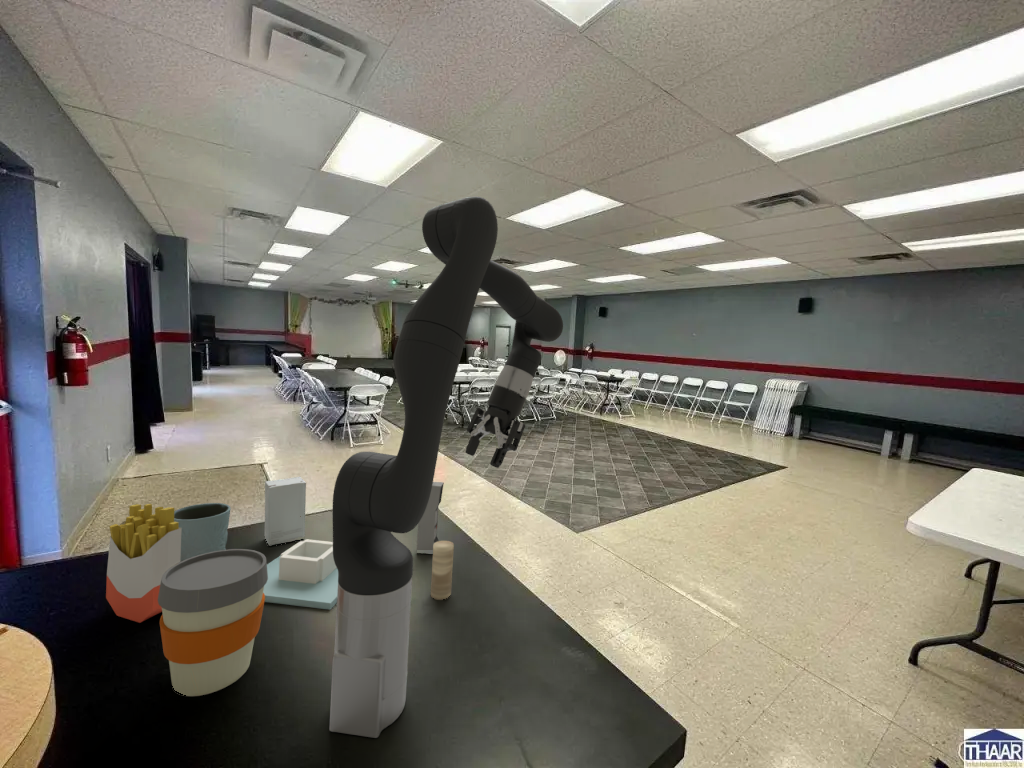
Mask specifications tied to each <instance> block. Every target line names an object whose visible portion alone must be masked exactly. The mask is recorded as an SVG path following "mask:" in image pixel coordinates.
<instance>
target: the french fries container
mask: <svg viewBox="0 0 1024 768" xmlns="http://www.w3.org/2000/svg"><path fill="white" fill-rule="evenodd" d="M128 509H129V510H128V513H129V514H128V515H129V516H126V517H125V521H122V522H121V523H120V524H118V523H115V524H111V525H110V526H109V532H110V536H109V544H108V545H109V546H108V559H107V568H106V587H105V588H106V590H105V592H106V593H105V599H106V601H107V602H108V603H109V606H111V609H112V610H113V612H114V614H115V615H116V616H118V617H119V618H120V617H121V618H123V619H127V620H130V621H133V622H136V623H139V624H140V623H143V622H144V621H146V620H149V619H150V618H151V619H152V617H155V616H157V615H158V614H160V613H162V607H161V606H160V605H159V604H158V595H159V589H160V584H161V578H162V575H163V574H164V573H165V572H166V571H167V570H168V569H169V568H170V567H172V566H174V565H175V564H177V563H179V562H180V556H181V529H182V528H180V527H178V526H179V522H174V511H175V507H170V506H168V507H165V508H164V507H163V506H158V507H155V508H154V514H153V504H152V503H148V504H144V505H143V509H142V504H138V503H137V504H133V505H129V506H128Z"/></svg>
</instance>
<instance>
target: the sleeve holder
mask: <svg viewBox="0 0 1024 768" xmlns="http://www.w3.org/2000/svg"><path fill="white" fill-rule="evenodd" d="M267 573H268V580H267V583H266V584H265V585H264V590H263V593H264V594H265V601H264V603H271V604H272V603H273V604H279V605H280V604H281V605H288V606H289V605H290V606H297V607H306V608H313V609H322V610H332V609H333V608H334V607H335V605H337V593H338V569H337V567H336V565H335V562H334V558H333V541H327V540H318V539H308V538H307V539H306V538H305V539H304V540H300V541H297V543H296V544H294V545H292V546H291V547H290V548H288V549H286V550H285V551H283V552H282V553H280V555H279V556H278V557H276V558H274V559H273V560H272V561H270V562H268V563H267Z"/></svg>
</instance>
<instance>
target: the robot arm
mask: <svg viewBox="0 0 1024 768" xmlns="http://www.w3.org/2000/svg"><path fill="white" fill-rule="evenodd" d="M498 224H499V223H498V217H497V214H496V211H495V208H494V207H493V205H492V204H491V202H490V201H489V200H487V198H484V197H481V196H475V195H474V196H467V197H463V198H459V199H454V200H452V201H449V202H445V203H442V204H439V205H436V206H434V207H431V208H430V209H429V210H428V211H426V213H425V214H424V216H423V219H422V224H421V225H422V226H421V231H422V237H423V239H424V242H425V245H426V246H427V249H429V251H430V253H432V255H434V257H435V258H437V259H438V260H439V261H440V262H441V263H443V264H444V266H443V268H442V270H441V272H440V273H439V274H438V276H436V278H435V279H434V280H433V281H432V282H431V283H430V285H429V286H428V287H427V288H426V289H425V290H424V291H423V292H422V293H421V295H420V296H419V297H418V298H417V300H416V301H415V302H414V304H413V305H412V307H411V308H410V309H409V311H408V313H407V314H406V316H405V318H404V321H403V324H402V327H401V330H400V334H399V336H398V340H397V343H396V345H395V349H394V351H393V352H394V353H393V368H394V373H395V377H396V382H397V385H398V389H399V391H400V396H401V400H402V403H403V409H404V427H403V432H402V437H401V442H400V445H399V449H398V451H397V454H396V455H395V454H394V455H393V454H388V453H382V452H376V451H360V452H357V453H354V454H353V455H351V456H350V457H349V458H347V459H346V461H345V462H344V463H343V464H342V466H341V468H339V469H340V470H339V471H338V474H337V477H336V479H335V481H334V482H335V483H334V489H333V494H332V542H333V558H334V562H335V565H336V567H337V569H338V593H337V603H336V610H335V611H336V612H335V613H336V614H335V615H336V617H335V630H334V631H335V633H334V635H335V636H334V637H335V638H334V650H333V651H334V654H333V656H332V665H331V666H332V667H331V668H332V671H331V687H330V688H331V689H330V690H331V692H330V710H329V732H332V733H341V734H347V735H354V736H360V737H366V738H367V737H368V738H374V739H377V738H379V736H380V735H381V732H382V731H383V730H384V729H386V728H387V727H388V726H390V725H392V724H393V723H394V722H395V721H396V720H397V719H398V718H399V717H400V715H401V714H402V712H403V711H404V708H405V705H406V700H407V699H406V698H407V680H408V660H409V642H410V641H409V640H410V622H411V605H412V604H411V603H412V602H411V601H412V591H413V590H412V589H413V588H412V586H413V571H414V570H413V569H414V557H413V556H414V555H413V554H412V551H411V550H410V549H409V548H408V547H407V546H406V545H405V544H404V543H402V542H401V541H400V540H398V538H397V537H395V535H393V533H396V534H406V533H409V532H411V531H412V530H414V529H415V528H416V526H417V527H418V523H419V522H420V520H421V518H422V516H423V514H424V512H425V510H426V507H427V504H428V501H429V498H430V494H431V489H432V484H433V482H434V478H435V472H436V467H437V460H438V457H439V456H438V455H439V450H440V443H441V436H442V432H443V427H444V421H445V418H446V413H447V409H448V404H449V401H450V396H451V392H452V389H453V385H454V381H455V379H456V375H457V373H458V369H459V365H460V362H461V359H462V358H461V357H462V354H463V350H464V347H465V343H466V338H467V333H468V329H469V325H470V322H471V321H470V320H471V318H472V314H473V311H474V308H475V304H476V301H477V297H478V294H479V291H480V290H481V291H483V292H484V293H485V294H486V295H488V296H489V297H490V298H492V299H493V300H494V302H496V304H497V305H499V306H500V308H501V309H503V311H505V313H506V314H507V315H508V316H509V317H510V318H512V319H513V320H514V321H515V323H514V330H513V331H514V332H513V337H512V344H511V350H510V352H509V354H508V357H507V359H506V362H505V363H504V365H503V368H502V370H501V371H500V372H499V374H498V377H497V379H496V382H495V384H494V386H493V388H492V391H491V393H490V395H489V397H488V399H487V405H488V407H487V408H486V409H487V410H485V409H483V408H482V407H477V408H476V409H475V412H473V413H474V414H473V416H472V417H471V420H470V422H469V424H468V426H467V428H466V432H468V433H469V434H470V437H469V440H468V443H467V445H466V448H465V454H467V455H469V456H471V457H474V456H475V455H476V452H477V449H478V448H479V445H480V443H481V440H482V439H483V438H484V437H485V436H486V435H487V436H488V435H490V434H492V435H495V438H496V439H497V447H496V448H495V450H494V453H493V455H492V458H491V461H490V462H489V464H490V466H492V467H494V468H497V469H498V468H500V467H501V466H502V465H503V462H504V459H505V457H506V455H507V453H508V452H510V451H513V452H516V451H517V449H518V447H519V444H520V442H521V439H522V437H523V434H524V431H525V427H526V424H525V423H523V422H522V421H519V420H518V419H516V418H517V417H518V418H519V416H520V415H521V412H522V410H523V408H524V405H525V403H526V401H527V398H528V395H529V394H530V391H531V390H532V389H531V388H532V386H533V380H534V379H535V376H536V373H537V371H538V369H539V366H540V364H541V362H542V354H541V352H540V351H539V350H538V349H536V348H535V347H533V346H531V343H532V340H537V341H541V342H545V343H546V342H548V343H549V342H554V341H556V340H558V339H559V338H560V336H561V335H562V333H563V329H564V321H563V318H562V315H561V314H560V312H559V311H558V310H557V308H555V307H554V306H552V305H551V304H550V303H548V302H547V301H545V300H544V299H543V298H541V297H540V296H538V295H537V294H536V292H534V290H533V288H532V287H531V286H530V285H529V283H527V281H526V280H525V279H524V278H523V277H522V276H521V275H519V274H518V273H517V272H515V271H513V270H512V269H509V268H508V267H506V266H504V265H502V264H500V263H498V262H496V261H493V260H492V257H493V254H494V251H495V248H496V245H497V240H498V231H499V230H498V229H499V228H498Z"/></svg>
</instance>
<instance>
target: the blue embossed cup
mask: <svg viewBox="0 0 1024 768" xmlns="http://www.w3.org/2000/svg"><path fill="white" fill-rule="evenodd" d="M231 509H232V508H231V505H229V504H226V503H220V502H205V503H198V504H192V505H187V506H184V507H181V508H179V509H176V510H174V522H179V526H178V527H180V528H182V529H181V556H180V562H181V561H184V560H186V559H189V558H191V557H194V556H197V555H201V554H205V553H209V552H214V551H220V550H227V548H226V545H227V542H228V534H229V533H228V530H229V529H228V528H229V525H230V524H229V523H230V517H231Z"/></svg>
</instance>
